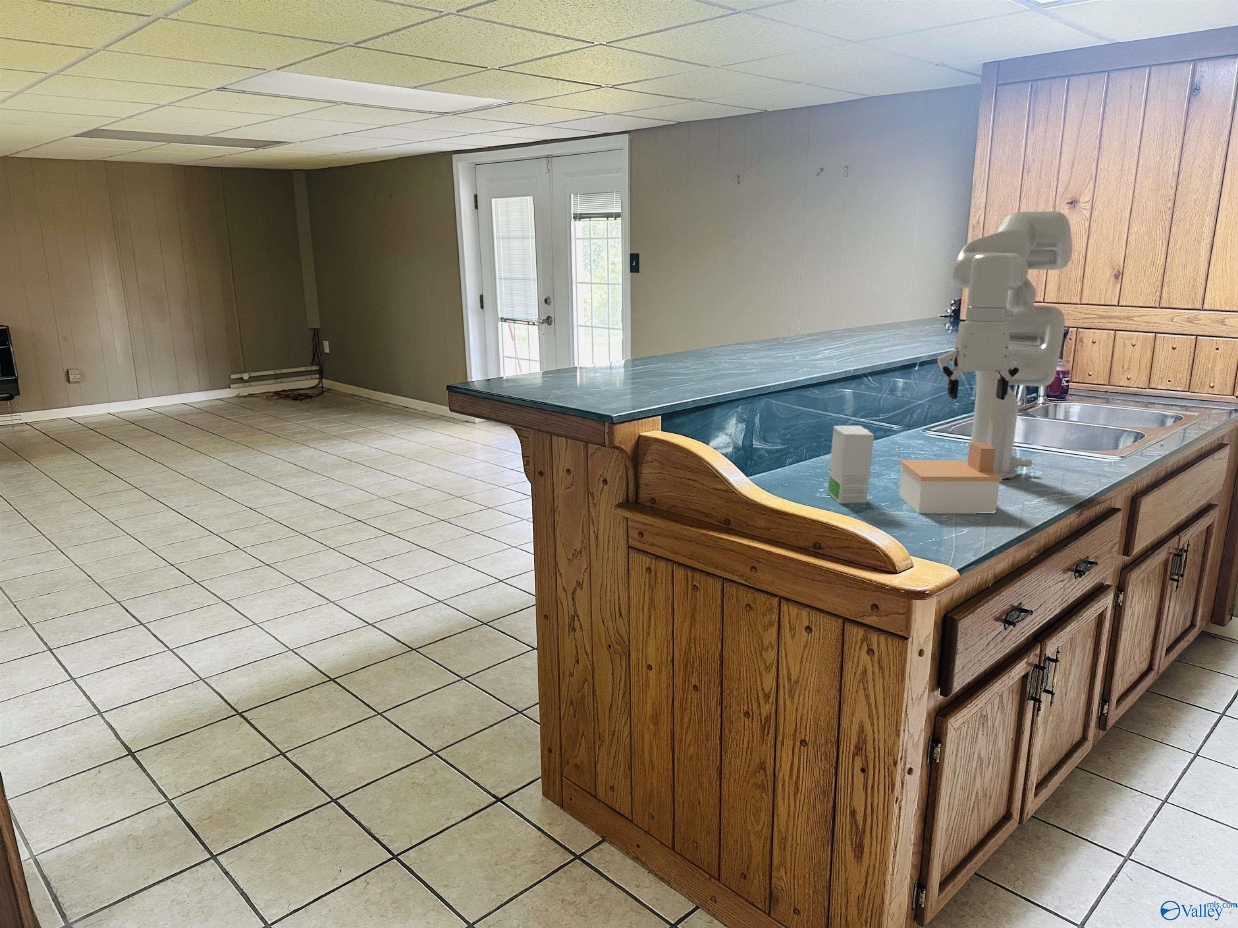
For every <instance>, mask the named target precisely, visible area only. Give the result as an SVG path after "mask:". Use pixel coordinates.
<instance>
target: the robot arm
mask: <svg viewBox="0 0 1238 928" xmlns="http://www.w3.org/2000/svg"><path fill="white" fill-rule="evenodd" d="M1072 239H1073V237H1072V230H1071V225H1070V221H1069V219H1068V217H1067V216H1066V215H1065V213H1063V212H1060V211H1057V210H1056V211H1055V210H1054V211H1053V210H1052V211H1046V210H1045V211H1019V212H1014V213H1013V212H1012V213H1011V214H1009V215H1007V216H1006V217H1005V218H1004V219H1003V220H1002V222H1001V223H1000V225H999V226H998V228H997V230H996V232H994V233H992V234H988V235H986V236H983V237H979V238H977V239H974V240H972V241H970V242H968V243H967V244H965V245H964V246H963V248H961V250H960V252H959V253H958V255H957V257H956V258H955V261H954V265H953V268H952V279H953V281H954V283H955V285H956V286H958V287H959V288H961V289H968V294H967V303H966V304H967V305H966V311H965V312H966V313H965V320H964V321H960V324H959V327H958V330H957V334H956V337H955V343H954V349H953V350H951V351H949V352H946V353H944V354H943V355H941V356H938V357H937V363H938V365H939V367H940V370H941V372H942V373H943V374H944V375H945V376H946V378H948V383H947V395H948V397H949V398H950V399H952V400H956V399H958V395H959V394H958V393H959V383H960V380H958V377H960V375H961V374H963V372H975V378H976V379H975V380H976V381H975V382H976V385H975V386H976V387H975V401H974V402H975V403H974V408H973V409H974V411H973V420H972V429H971V438H970V442H984V443H986V444H988V445H990V446H992V447H993V448H995V449H996V450H995V459H994V467H993V471H994V472H995V473H997V474H998V475H1000V476H1002V480H1005V479H1006V478H1009V479H1013V478H1016V477H1017V475H1018V470H1017V469H1018V468H1019V467H1023V468H1026V467H1027V468H1029V467H1030V468H1031V467H1032V466H1033V460H1032V459H1031V458H1022V457H1016V456H1015V455H1013V451H1014V444H1015V435H1016V427H1017V419H1018V411H1019V401H1018V398H1017V396H1016V394H1015V393H1014V391H1013V390H1012V389H1011V386H1010V385H1012V386H1015V385H1019V386H1027V387H1030V386H1031V387H1046V386H1049V385H1051V383H1053V381H1054V380H1055V377H1056V374H1057V370H1058V366H1059V360H1060V354H1061V350H1062V344H1063V338H1064V335H1065V334H1064V332H1065V327H1066V326H1065V325H1066V323H1065V321H1066V320H1065V315H1064V312H1063V310H1061V309H1060V308H1059V307H1056V306H1051V305H1035V302H1036V297H1037V291H1036V288H1035V285H1033V283H1032V281H1030V279H1029V278H1028V277H1027V276H1028V272H1029V270H1036V271H1037V270H1038V271H1039V270H1041V271H1042V270H1043V271H1044V270H1045V271H1048V270H1049V271H1052V270H1053V271H1057V270H1061V269H1064V268H1066V267H1067V266H1068V265H1069V263H1070V261H1071V258H1072V254H1073V240H1072ZM950 360H952V368H950V367H949V366H948V364H947V363H948V362H949V361H950ZM1006 480H1007V479H1006Z"/></svg>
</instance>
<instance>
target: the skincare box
mask: <svg viewBox="0 0 1238 928" xmlns="http://www.w3.org/2000/svg"><path fill="white" fill-rule="evenodd" d="M874 438H875V435H874V434H873V433H872V432H870V431H869V430H868V429H867V428H864V427H863V426H861V425H833V431H832V441H831V442H832V443H831V452H830V464H829V475H828V482H827V483H828V484H827V494H828V495H830V496H831V498H833V500H835V501H836V502H837V503H838V504H845V505H846V504H847V505H848V504H867V501H868V493H869V484H870V482H869V481H870V477H871V476H870V474H871V467H872V466H871V465H872V456H873V449H874V447H873V445H874Z"/></svg>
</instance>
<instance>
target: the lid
mask: <svg viewBox="0 0 1238 928" xmlns="http://www.w3.org/2000/svg"><path fill="white" fill-rule="evenodd" d="M995 450H996V449H995V448H993V447H992V446H990V445H988V444H986V443H984V442H971V441H970V442H969V447H968V457H967V460H962V459H961V460H960V459H959V460H958V459H956V460H955V459H953V460H952V459H951V460H947V459H945V460H935V459H933V460H932V459H930V460H926V459H921V460H919V459H910V460H909V459H901V460H900V461H899V465H900V466H901V467H904V468H905V469H906V470H907V471H909V472H910V473H911V474H912V475H914V476H915V477H916V478H917V479H919V480H920V481H998V482H999V483H1000V482H1002V481H1003V479H1002V476H1000V475H998V474H997V473H995V472H994V471H993V467H994V459H995Z"/></svg>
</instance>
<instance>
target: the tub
mask: <svg viewBox="0 0 1238 928" xmlns="http://www.w3.org/2000/svg"><path fill="white" fill-rule="evenodd" d="M899 478H900V480H899V490H898V492H899V493H898V496H899V497H900V498H901V499H902V500H903V501H904V502H905V503H907V504H908V505H909V506H910V507H911V508H912V509H913V510H914V511H915V512H917V514H976V513H978V512H993V511H996V512H997V504H998V497H999V491H1000V490H999V489H1000V482H998V481H920V480H919V479H917V478H916V477H915V476H914V475H912V474H911V473H910V472H909V471H907V470H906V469H905V468H904V467H902V466H901V470H900V477H899Z"/></svg>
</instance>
